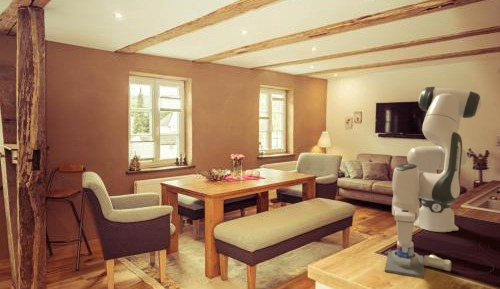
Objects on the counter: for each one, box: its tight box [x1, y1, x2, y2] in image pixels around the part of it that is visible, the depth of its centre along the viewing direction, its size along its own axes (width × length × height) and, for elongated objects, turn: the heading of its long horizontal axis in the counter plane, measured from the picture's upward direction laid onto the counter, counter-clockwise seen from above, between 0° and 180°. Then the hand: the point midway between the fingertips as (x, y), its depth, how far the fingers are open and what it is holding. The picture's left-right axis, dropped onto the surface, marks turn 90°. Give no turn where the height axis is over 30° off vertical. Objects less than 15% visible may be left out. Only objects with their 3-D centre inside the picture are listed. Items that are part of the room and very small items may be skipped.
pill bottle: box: [396, 240, 415, 258], centre depth 123 cm, size 6×5×10 cm
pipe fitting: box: [423, 254, 452, 273], centre depth 121 cm, size 8×4×7 cm
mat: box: [384, 251, 425, 279], centre depth 123 cm, size 18×12×1 cm, turn 154°
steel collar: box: [391, 249, 419, 268], centre depth 123 cm, size 9×9×3 cm
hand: (405, 248), depth 123 cm, fingers closed on pill bottle, 5 cm apart
